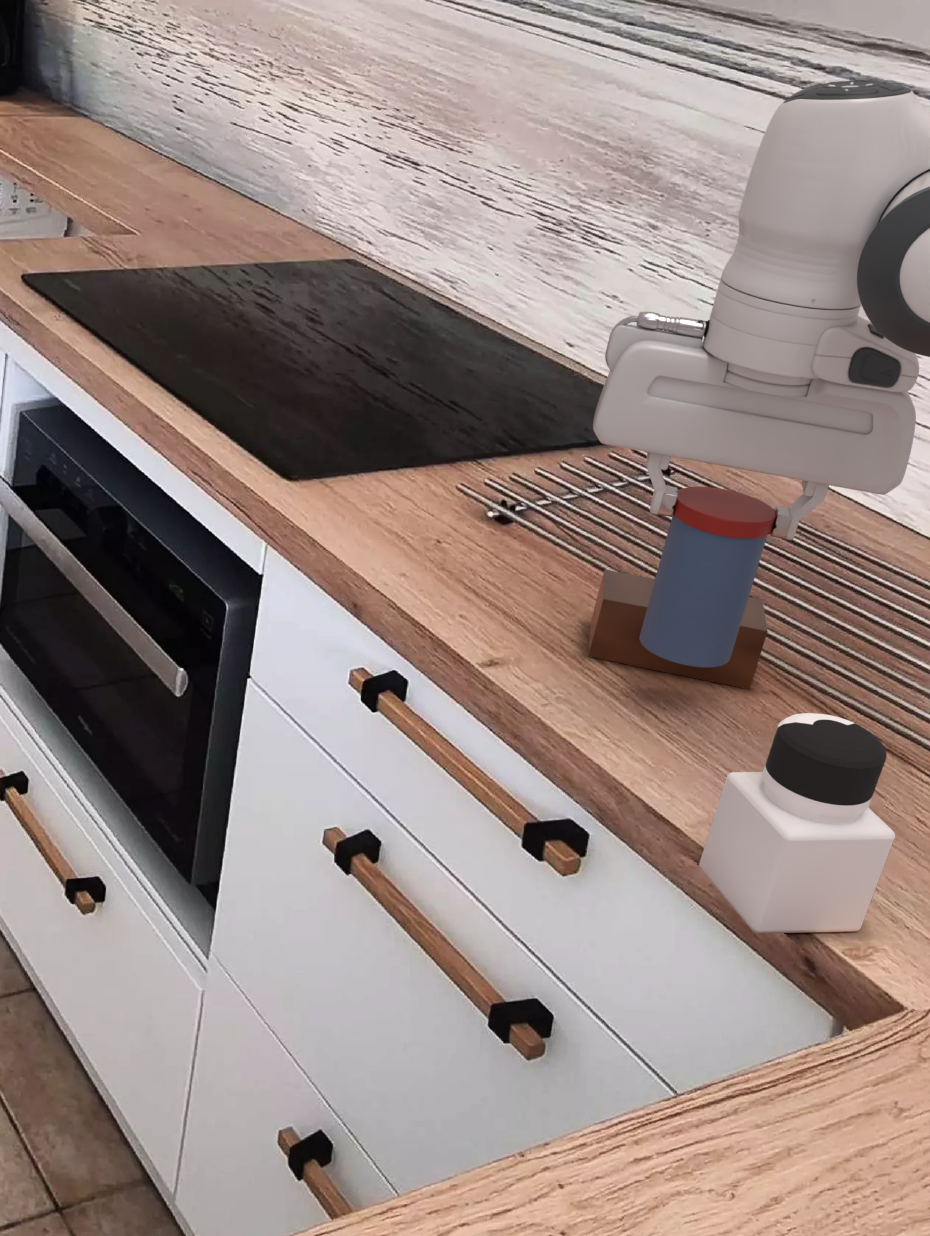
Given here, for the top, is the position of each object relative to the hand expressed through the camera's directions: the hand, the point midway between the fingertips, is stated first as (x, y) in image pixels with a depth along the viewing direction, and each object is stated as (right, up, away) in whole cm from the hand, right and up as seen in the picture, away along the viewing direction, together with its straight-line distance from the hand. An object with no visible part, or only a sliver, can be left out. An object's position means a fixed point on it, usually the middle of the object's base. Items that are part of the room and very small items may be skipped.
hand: (720, 524), depth 121 cm
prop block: (+1, -9, +14) cm, 17 cm away
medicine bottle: (-3, -24, -15) cm, 29 cm away
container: (0, -4, +2) cm, 4 cm away
